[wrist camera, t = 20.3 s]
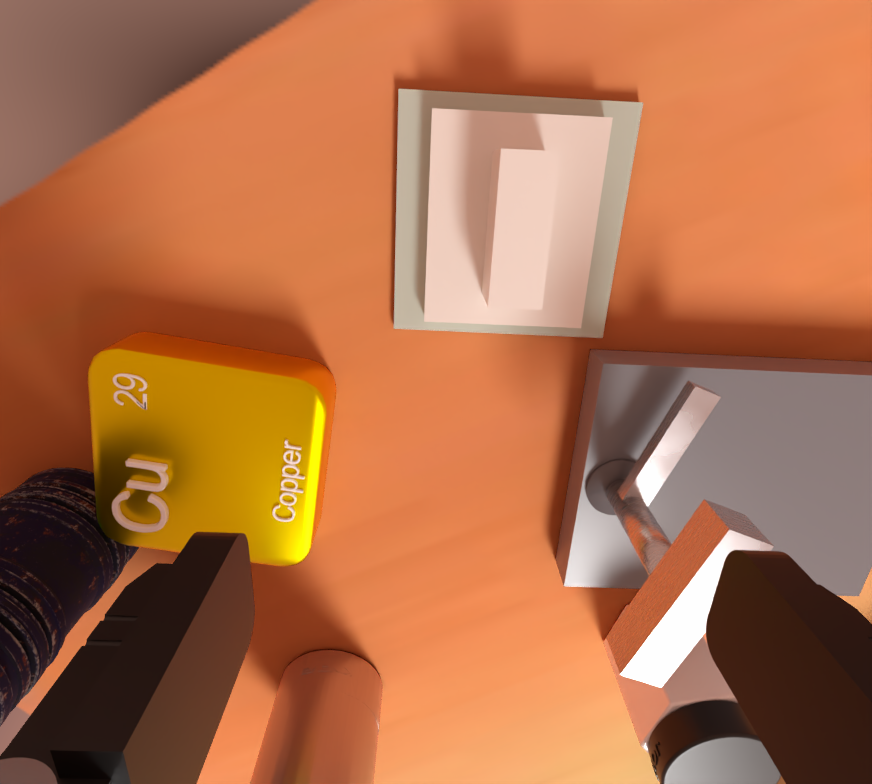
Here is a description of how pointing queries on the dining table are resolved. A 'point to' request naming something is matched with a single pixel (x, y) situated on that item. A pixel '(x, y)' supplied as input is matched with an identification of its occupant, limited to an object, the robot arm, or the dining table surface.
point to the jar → (695, 725)
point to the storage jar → (48, 572)
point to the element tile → (209, 444)
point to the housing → (727, 460)
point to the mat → (416, 198)
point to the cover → (512, 216)
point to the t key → (672, 551)
